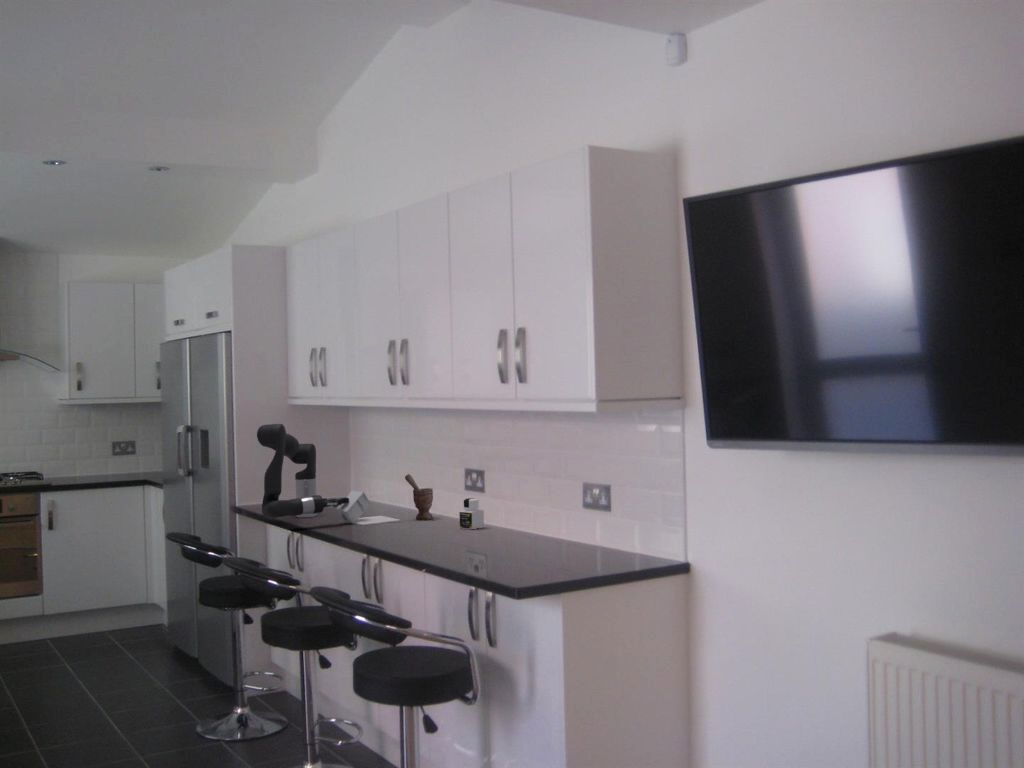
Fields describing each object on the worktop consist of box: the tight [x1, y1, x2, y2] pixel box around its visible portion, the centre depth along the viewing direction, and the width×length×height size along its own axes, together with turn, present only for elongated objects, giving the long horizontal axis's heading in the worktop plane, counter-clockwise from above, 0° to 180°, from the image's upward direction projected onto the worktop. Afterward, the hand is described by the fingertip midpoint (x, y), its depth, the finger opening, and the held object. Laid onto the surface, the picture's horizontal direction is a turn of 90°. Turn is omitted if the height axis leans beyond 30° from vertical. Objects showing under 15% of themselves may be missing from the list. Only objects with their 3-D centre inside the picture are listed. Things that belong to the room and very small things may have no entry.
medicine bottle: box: [458, 497, 485, 530], centre depth 426 cm, size 7×7×12 cm
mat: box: [352, 515, 402, 527], centre depth 456 cm, size 20×18×1 cm
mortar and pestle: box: [404, 473, 434, 521], centre depth 457 cm, size 12×9×20 cm
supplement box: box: [335, 490, 371, 524], centre depth 454 cm, size 7×7×13 cm
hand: (348, 500), depth 451 cm, fingers closed
